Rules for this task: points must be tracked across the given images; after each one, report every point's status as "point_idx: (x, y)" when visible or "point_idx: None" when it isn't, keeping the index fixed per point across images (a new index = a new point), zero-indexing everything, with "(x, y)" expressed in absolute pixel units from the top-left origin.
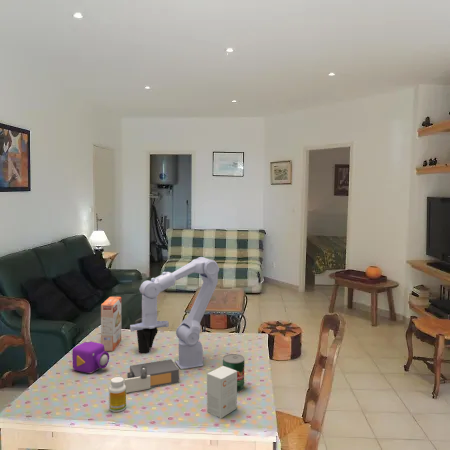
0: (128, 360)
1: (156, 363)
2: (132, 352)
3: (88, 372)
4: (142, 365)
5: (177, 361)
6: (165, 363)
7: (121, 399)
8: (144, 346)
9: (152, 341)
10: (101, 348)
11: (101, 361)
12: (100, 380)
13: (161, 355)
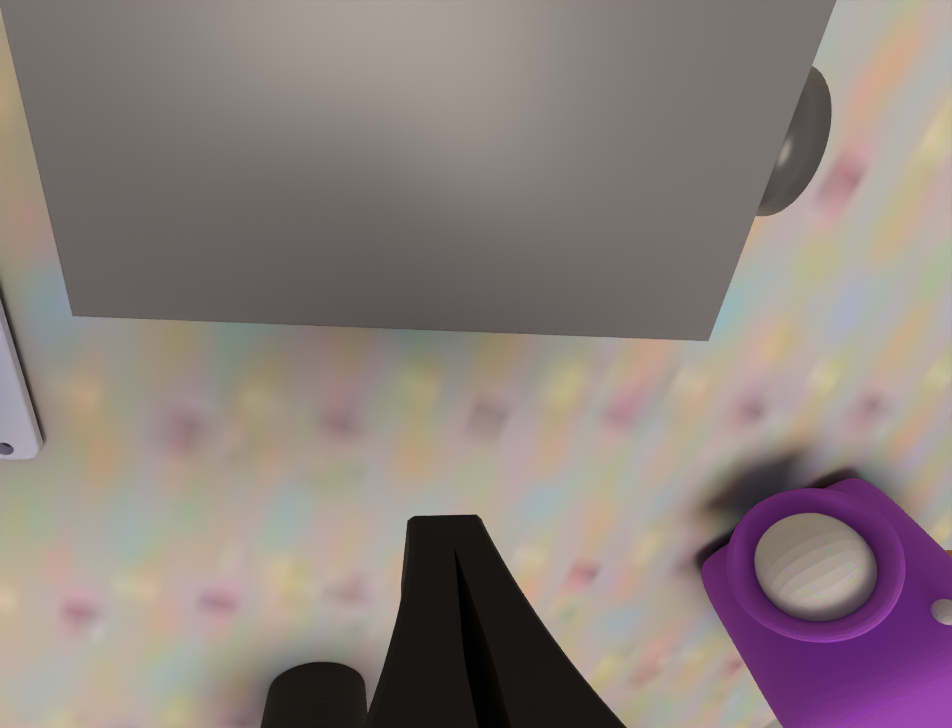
0: None
1: (358, 263)
2: None
3: (867, 482)
4: (572, 281)
5: (10, 438)
6: (208, 198)
7: None
8: (325, 726)
9: (420, 620)
10: (838, 691)
11: (851, 534)
12: (859, 343)
13: (181, 608)
